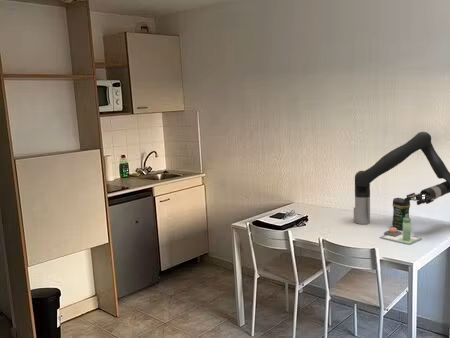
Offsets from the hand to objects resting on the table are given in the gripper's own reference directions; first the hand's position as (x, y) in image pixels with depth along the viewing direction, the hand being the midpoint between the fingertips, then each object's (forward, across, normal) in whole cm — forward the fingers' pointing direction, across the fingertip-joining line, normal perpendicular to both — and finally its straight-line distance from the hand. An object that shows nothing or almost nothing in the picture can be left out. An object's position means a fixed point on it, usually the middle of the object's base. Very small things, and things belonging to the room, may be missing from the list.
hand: (410, 201), depth 249 cm
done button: (+9, -7, +17) cm, 21 cm away
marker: (+10, +4, +18) cm, 21 cm away
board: (+10, -1, +19) cm, 21 cm away
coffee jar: (-6, -15, +22) cm, 27 cm away
